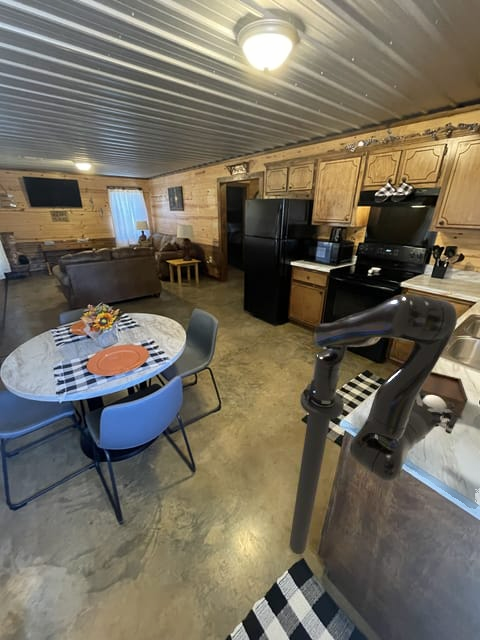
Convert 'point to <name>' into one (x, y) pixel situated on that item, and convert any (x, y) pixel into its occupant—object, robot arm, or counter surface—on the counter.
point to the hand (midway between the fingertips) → (437, 399)
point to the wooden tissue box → (447, 390)
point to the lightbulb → (434, 402)
